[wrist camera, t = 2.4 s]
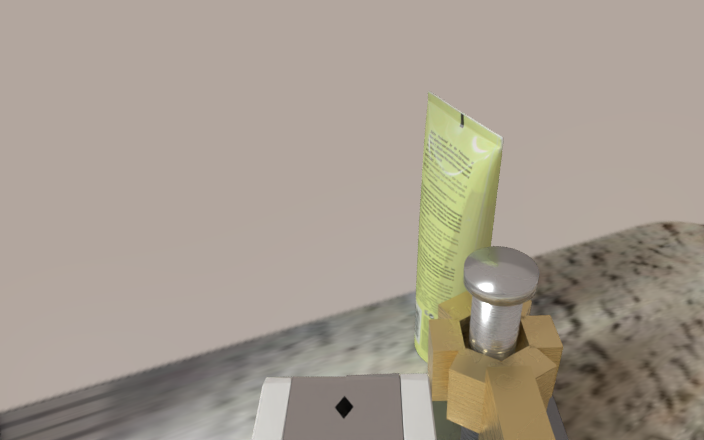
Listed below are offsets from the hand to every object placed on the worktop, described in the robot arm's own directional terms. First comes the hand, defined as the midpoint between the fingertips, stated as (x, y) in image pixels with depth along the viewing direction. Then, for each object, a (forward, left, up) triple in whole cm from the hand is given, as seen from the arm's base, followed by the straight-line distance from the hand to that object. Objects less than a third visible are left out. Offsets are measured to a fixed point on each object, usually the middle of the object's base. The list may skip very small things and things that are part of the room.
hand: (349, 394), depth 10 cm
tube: (+5, +21, -23) cm, 32 cm away
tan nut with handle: (+6, +10, -17) cm, 21 cm away
